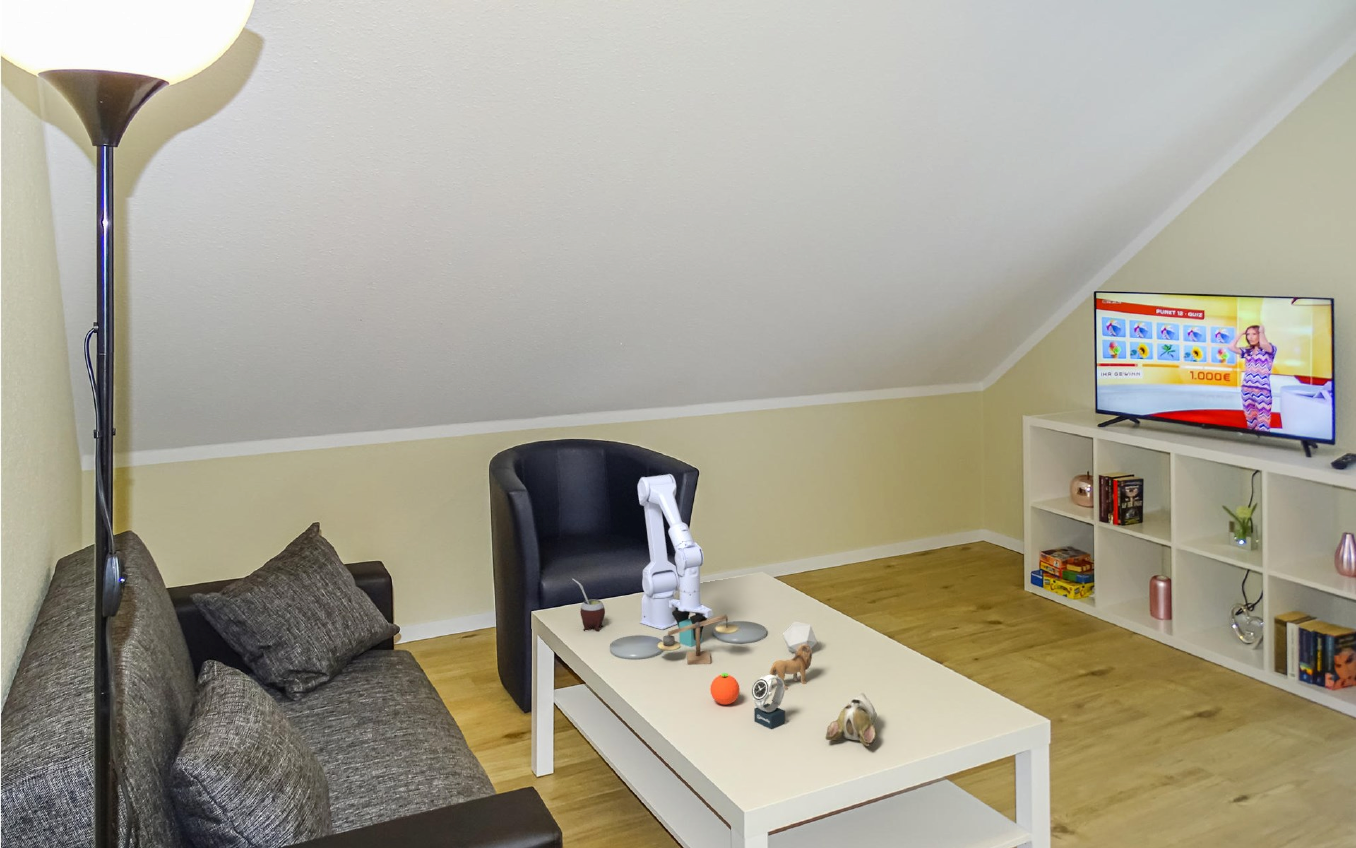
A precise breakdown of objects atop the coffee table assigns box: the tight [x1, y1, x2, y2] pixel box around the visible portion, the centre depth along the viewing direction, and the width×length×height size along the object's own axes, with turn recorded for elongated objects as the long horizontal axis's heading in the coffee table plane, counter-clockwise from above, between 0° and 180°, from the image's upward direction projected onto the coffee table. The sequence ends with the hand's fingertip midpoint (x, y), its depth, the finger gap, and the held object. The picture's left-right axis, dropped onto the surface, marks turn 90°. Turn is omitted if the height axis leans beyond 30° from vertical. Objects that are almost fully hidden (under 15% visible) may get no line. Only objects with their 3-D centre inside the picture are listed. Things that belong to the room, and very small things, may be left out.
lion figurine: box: [769, 644, 813, 690], centre depth 252 cm, size 15×5×9 cm, turn 129°
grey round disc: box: [712, 620, 767, 645], centre depth 288 cm, size 15×15×1 cm
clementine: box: [709, 672, 740, 705], centre depth 242 cm, size 8×7×7 cm
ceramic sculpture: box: [825, 692, 878, 747], centre depth 223 cm, size 11×9×15 cm
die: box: [782, 620, 818, 654], centre depth 274 cm, size 8×9×10 cm
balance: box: [658, 614, 738, 665], centre depth 269 cm, size 21×6×12 cm, turn 92°
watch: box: [751, 673, 786, 730], centre depth 230 cm, size 6×8×11 cm
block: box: [678, 618, 703, 648], centre depth 282 cm, size 4×4×6 cm
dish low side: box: [609, 634, 665, 660], centre depth 278 cm, size 15×15×1 cm
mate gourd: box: [571, 578, 606, 633], centre depth 295 cm, size 8×8×15 cm
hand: (690, 637), depth 282 cm, fingers closed on block, 4 cm apart
